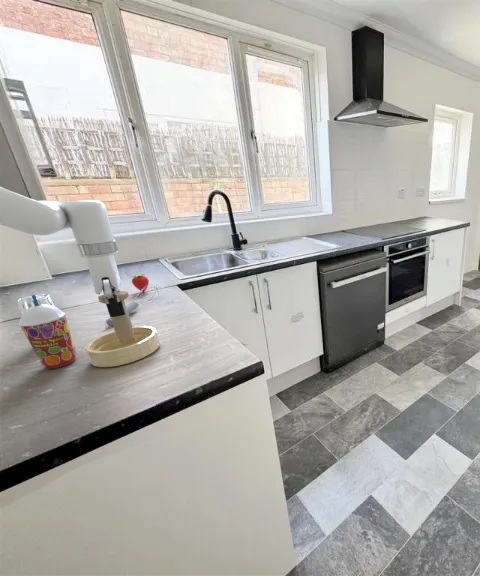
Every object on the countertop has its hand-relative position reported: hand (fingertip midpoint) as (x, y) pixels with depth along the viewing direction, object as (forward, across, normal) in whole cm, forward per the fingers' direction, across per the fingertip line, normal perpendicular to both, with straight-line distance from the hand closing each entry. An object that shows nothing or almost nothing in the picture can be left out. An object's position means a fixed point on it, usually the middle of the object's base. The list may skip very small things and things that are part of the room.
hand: (118, 311), depth 87 cm
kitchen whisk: (+13, -38, +2) cm, 40 cm away
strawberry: (+13, -62, +4) cm, 64 cm away
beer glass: (+13, -22, -20) cm, 32 cm away
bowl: (+12, +2, -1) cm, 13 cm away
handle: (+10, 0, 0) cm, 10 cm away
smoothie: (+13, -4, -15) cm, 20 cm away
